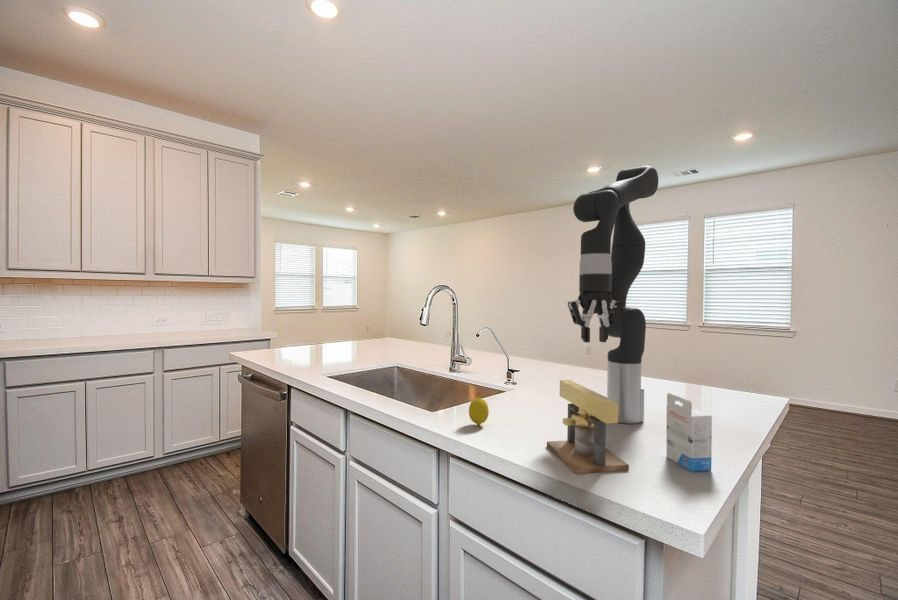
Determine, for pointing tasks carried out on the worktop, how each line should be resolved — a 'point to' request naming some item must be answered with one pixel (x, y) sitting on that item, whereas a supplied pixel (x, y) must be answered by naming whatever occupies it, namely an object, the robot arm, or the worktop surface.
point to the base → (585, 460)
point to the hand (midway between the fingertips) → (594, 341)
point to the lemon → (478, 411)
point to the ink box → (688, 435)
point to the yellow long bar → (587, 405)
